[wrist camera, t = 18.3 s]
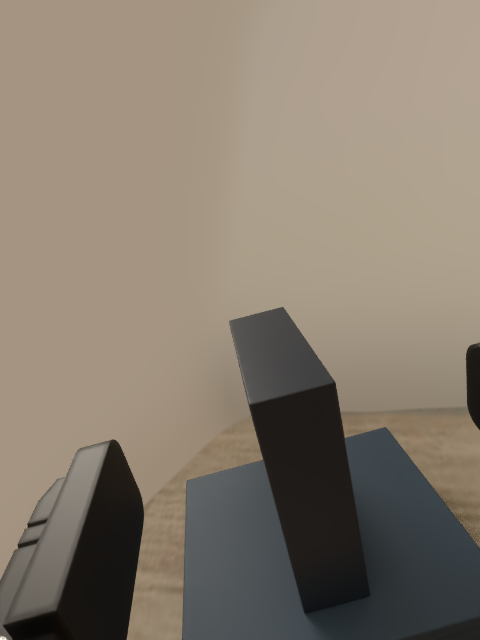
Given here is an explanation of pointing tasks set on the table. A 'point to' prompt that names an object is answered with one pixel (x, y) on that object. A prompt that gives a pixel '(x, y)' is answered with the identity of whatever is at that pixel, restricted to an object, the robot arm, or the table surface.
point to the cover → (320, 520)
